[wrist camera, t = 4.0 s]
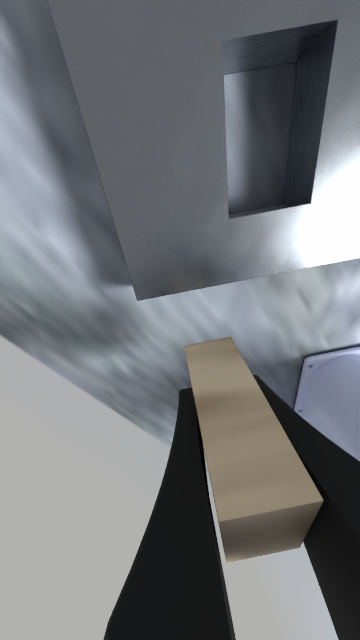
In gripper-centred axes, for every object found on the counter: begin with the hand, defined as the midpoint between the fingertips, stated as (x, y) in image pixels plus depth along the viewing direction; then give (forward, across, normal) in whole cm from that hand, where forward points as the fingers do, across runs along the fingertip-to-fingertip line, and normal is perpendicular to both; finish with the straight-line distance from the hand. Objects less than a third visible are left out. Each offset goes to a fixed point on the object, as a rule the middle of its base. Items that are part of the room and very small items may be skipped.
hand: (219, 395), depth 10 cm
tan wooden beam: (+2, 0, 0) cm, 2 cm away
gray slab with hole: (+7, -4, -11) cm, 13 cm away
